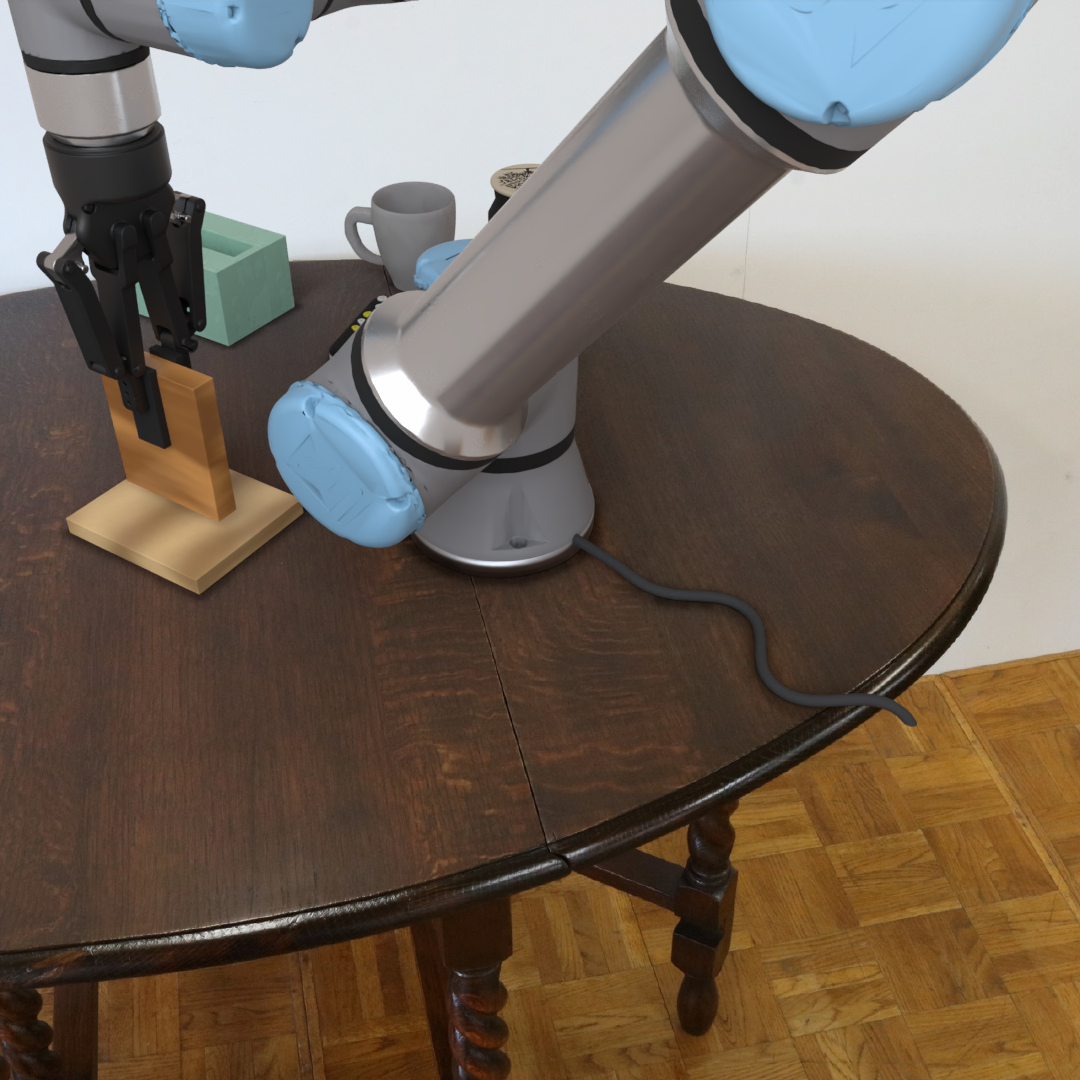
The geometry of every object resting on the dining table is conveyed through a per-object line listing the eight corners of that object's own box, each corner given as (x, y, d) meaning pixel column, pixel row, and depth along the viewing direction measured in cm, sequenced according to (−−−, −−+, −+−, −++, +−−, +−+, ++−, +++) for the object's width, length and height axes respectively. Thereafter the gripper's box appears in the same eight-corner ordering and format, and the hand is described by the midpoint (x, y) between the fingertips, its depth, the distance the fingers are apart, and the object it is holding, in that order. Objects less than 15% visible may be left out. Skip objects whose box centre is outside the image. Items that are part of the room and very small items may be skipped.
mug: (464, 266, 133) (461, 183, 127) (450, 303, 126) (447, 217, 120) (359, 259, 134) (351, 176, 128) (339, 295, 127) (331, 210, 121)
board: (303, 513, 97) (301, 498, 96) (199, 595, 89) (196, 580, 88) (178, 460, 103) (175, 445, 102) (69, 533, 95) (65, 518, 94)
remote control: (325, 367, 115) (322, 349, 114) (377, 308, 125) (375, 291, 123) (384, 377, 114) (382, 359, 113) (432, 317, 123) (431, 300, 122)
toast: (145, 469, 97) (114, 339, 89) (236, 509, 93) (213, 377, 85) (126, 481, 96) (94, 350, 88) (218, 522, 92) (193, 389, 84)
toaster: (186, 270, 131) (173, 201, 126) (294, 306, 125) (285, 235, 120) (117, 306, 124) (100, 234, 119) (228, 346, 118) (216, 272, 113)
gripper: (146, 82, 82) (201, 376, 97) (-37, 149, 72) (56, 465, 87) (228, 103, 79) (271, 403, 94) (48, 176, 69) (129, 498, 84)
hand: (168, 432), depth 90 cm, fingers closed on toast, 2 cm apart
